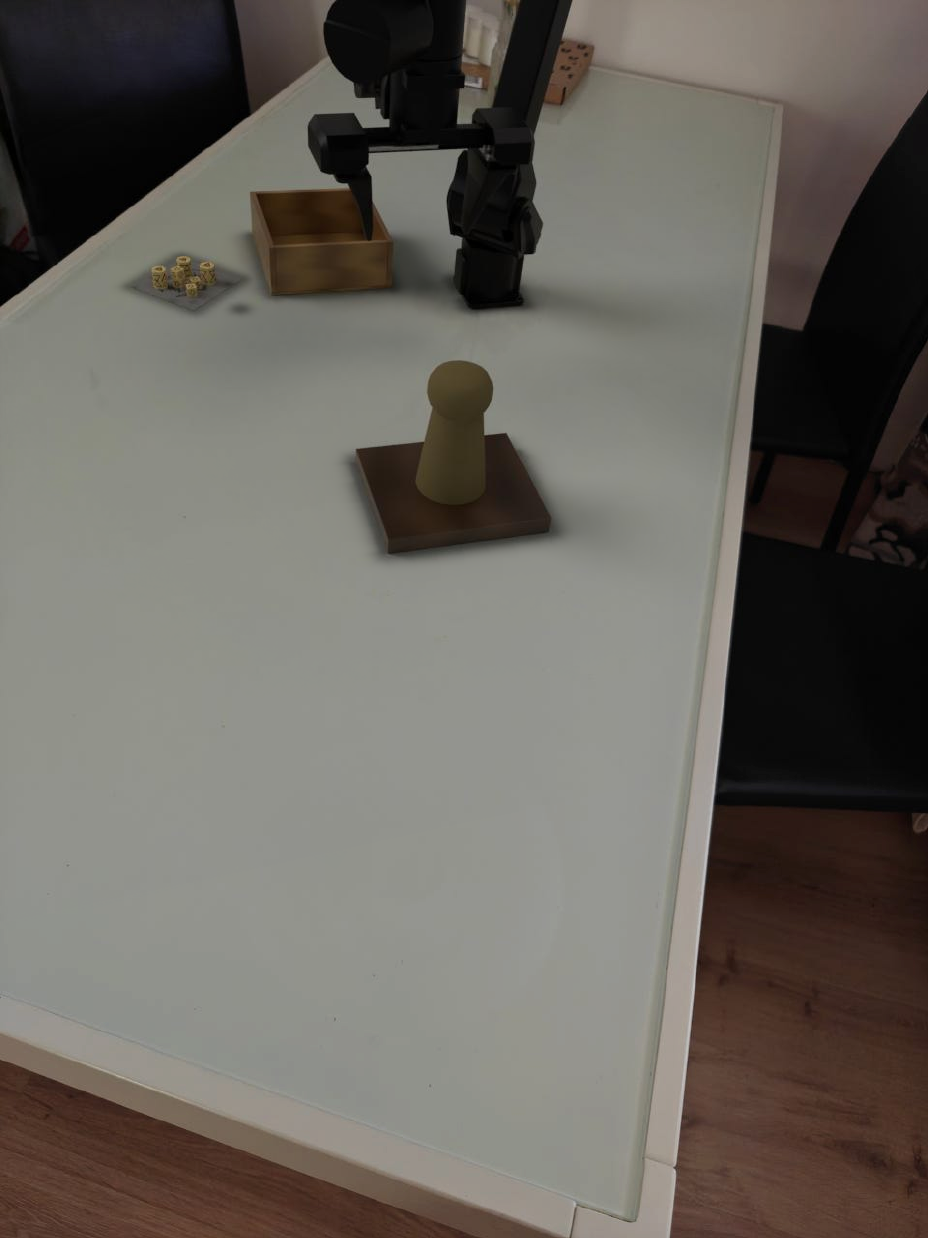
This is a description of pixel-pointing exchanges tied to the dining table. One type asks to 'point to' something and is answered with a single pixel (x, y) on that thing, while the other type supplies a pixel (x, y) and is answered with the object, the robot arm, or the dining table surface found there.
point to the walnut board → (432, 524)
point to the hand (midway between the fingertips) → (417, 235)
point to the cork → (455, 434)
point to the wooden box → (318, 242)
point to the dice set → (186, 283)
